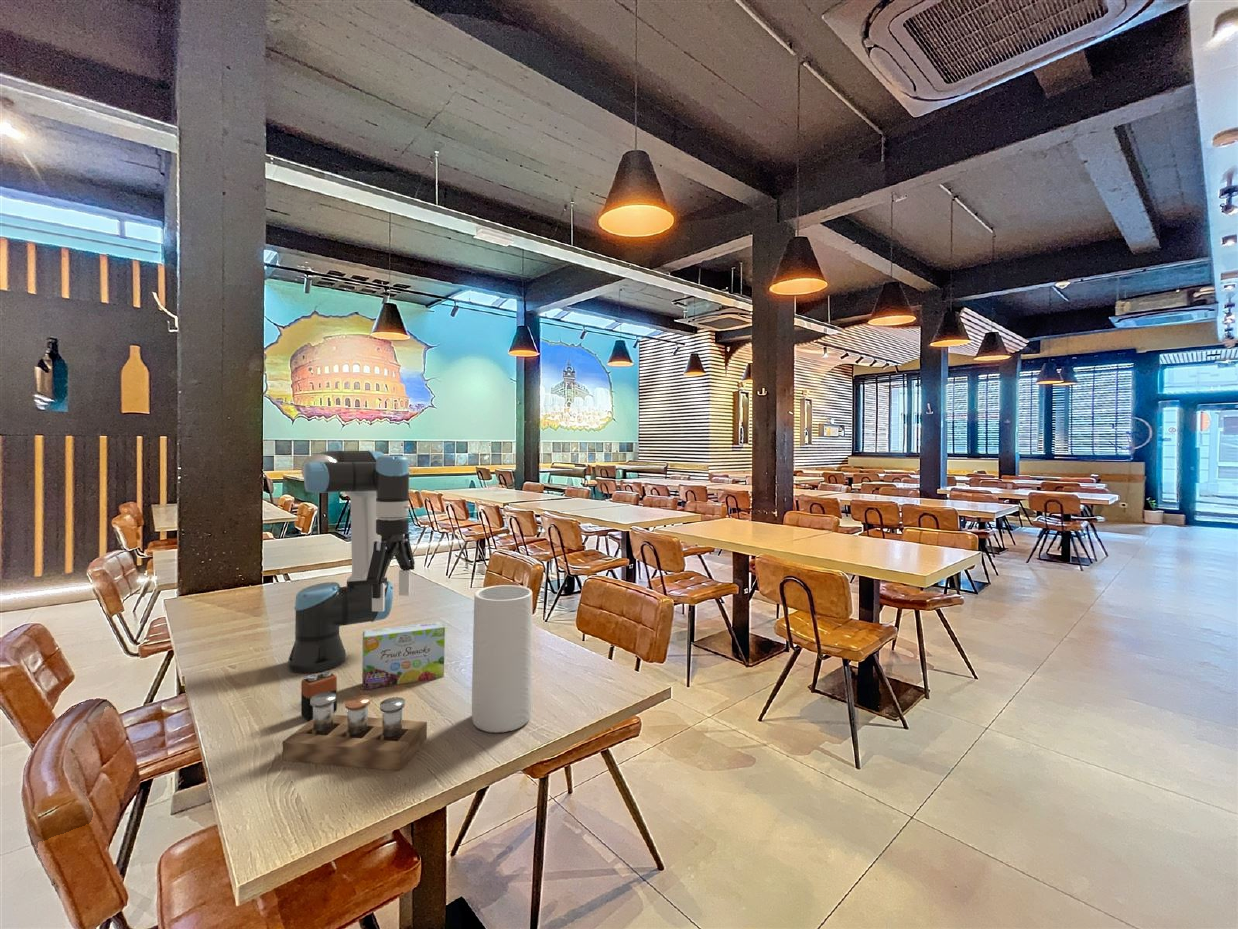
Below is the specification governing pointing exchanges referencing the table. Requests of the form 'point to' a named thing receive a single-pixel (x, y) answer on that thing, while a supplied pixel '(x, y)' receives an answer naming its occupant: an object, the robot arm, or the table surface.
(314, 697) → the plug
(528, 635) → the vase
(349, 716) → the plug mid
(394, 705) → the plug
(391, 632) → the snack box
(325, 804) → the table surface
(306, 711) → the battery
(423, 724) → the wooden jar holder
